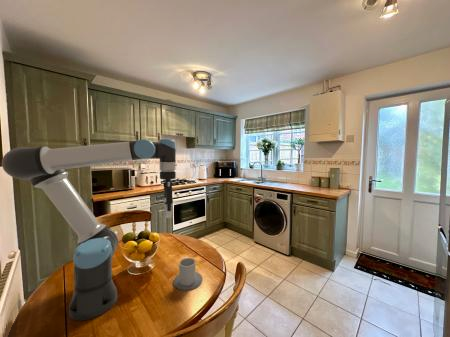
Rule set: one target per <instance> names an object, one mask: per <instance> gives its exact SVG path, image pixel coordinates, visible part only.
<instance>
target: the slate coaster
mask: <svg viewBox="0 0 450 337" xmlns="http://www.w3.org/2000/svg"><path fill="white" fill-rule="evenodd" d="M202 282H203V276H202V274H201V273H199V272H196V271H195V282H194V283H193V284H192V285H190V286H182V285H181V284H180V282H179V274H177V275H176V276H175V277H174V278H173V286H174V288H175V289H177V290H179V291H192V290H195V289H197V288H198V287H199V286H201V284H202Z"/></svg>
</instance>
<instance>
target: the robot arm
mask: <svg viewBox="0 0 450 337" xmlns="http://www.w3.org/2000/svg"><path fill="white" fill-rule="evenodd" d="M176 149H177V148H176V141H175V140H174V139H171V138H170V139H169V138H160V139H159V141H158V142H152V141H151V140H150V139H146V138H142V139H139V140H132V141H123V142H122V141H121V142H119V141H118V142H111V143H100V144H99V143H98V144H88V145H80V146H79V145H78V146H69V147H60V148H59V147H58V148H49V147H48V146H35V147H34V146H33V147H28V146H21V147H16V148H12V149H11V150H9V151H7V152H6V153H5V154H4V155H3V158H2V160H1V167H2V169H3V171H4V172H5V173H6V174H7V176H8V175H9V176H10V177H12V178H15V179H18V180H22V181H23V180H24V181H29V182H30V184H31V185H32V186H33V188H36V189H42V191H43V192H44V194H45V195H46V196H47V197H48V199H49V200H50V201H51V202H52V204H53V205H54V207H55V208H56V209H57V211H58V212H59V213H60V214H61V216H62V217H63V218H64V220H65V221H66V222H67V223H68V225H69V227H70V228H72V230H73V231H74V233H75V234H76V236H78V238H77V247H76V248H75V250H74V252H73V260H72V262H73V277H74V279H73V280H74V281H73V282H74V291H73V294H72V296H71V300H70V303H69V306H68V317H69V318H70V319H72V320H73V321H88V320H91V319H94V318H96V317H98V316H101V315H102V314H104V313H106V312H107V311H109V310H110V309H111V308H112V307H113V306H114V305H115V304H116V302H117V300H118V291H117V287H116V286H115V284H114V281H113V278H112V277H113V276H112V273H113V270H112V267H113V266H112V264H113V263H112V262H113V257H114V255H115V252H116V251H117V248H118V247H119V246H118V245H119V237H118V235H117V233H116V232H115V231H113V229H109V227H108V226H107V225H106V224H105V223H100V222H99V221H98V219H97V217H96V216H95V215H94V214H93V212H92V211H91V208H89V207H88V205H87V203H86V202H85V201H84V200H83V198H82V197H81V196H80V194H79V192H77V190H76V189H75V187H74V186H73V185H72V183H71V182H70V180H69V179H68V175H69V171H68V169H69V170H70V169H75V168H83V167H84V168H85V167H91V166H97V165H100V166H101V165H106V164H113V163H121V162H130V161H138V160H146V159H147V160H149V159H150V160H153V159H154V160H155V159H157V160H158V159H159V179H160V180H164V182H163V190H164V191H163V192H164V193H163V196H164V197H163V198H164V199H163V200H164V201H163V202H164V205H163V208H164V211H165V218H166V219H171V218H173V182H172V181H171V180H175V179H176V178H177V177H176V173H177V172H176V167H177V163H176V161H177V160H176V159H177V157H176V152H177V151H176Z"/></svg>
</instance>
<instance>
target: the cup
mask: <svg viewBox="0 0 450 337" xmlns="http://www.w3.org/2000/svg"><path fill="white" fill-rule="evenodd" d="M178 265H179V266H178V275H179V282H180V284H181V285H182V286H190V285H192V284H193V283H194V282H195V272H196V259H194V258H192V257H186V258H183V259H181V260H180V261H179V264H178Z"/></svg>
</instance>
